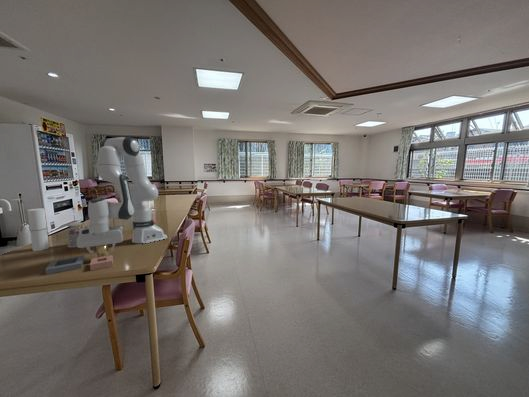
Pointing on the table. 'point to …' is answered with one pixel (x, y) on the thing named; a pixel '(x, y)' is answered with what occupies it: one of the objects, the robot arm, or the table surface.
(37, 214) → the cylindrical container
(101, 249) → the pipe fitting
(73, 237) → the french press
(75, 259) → the socket block
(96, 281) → the table surface
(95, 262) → the small socket
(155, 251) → the table surface
